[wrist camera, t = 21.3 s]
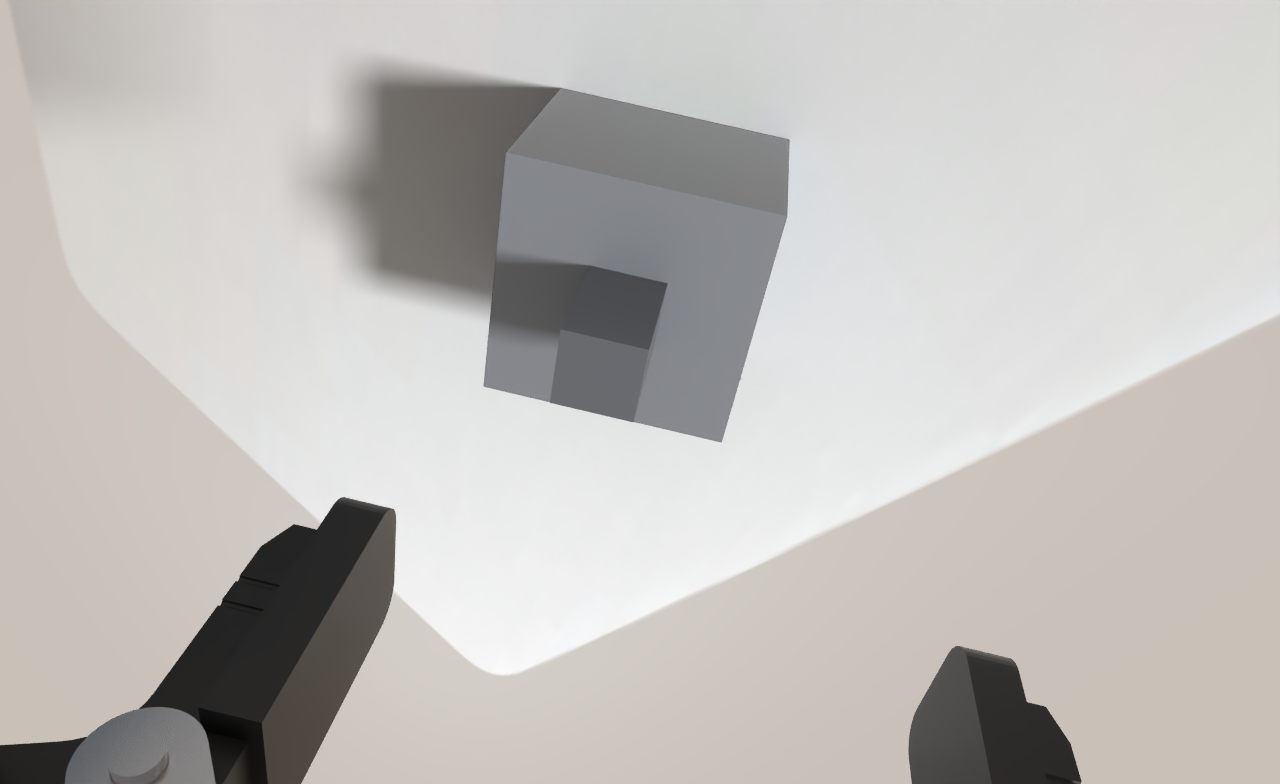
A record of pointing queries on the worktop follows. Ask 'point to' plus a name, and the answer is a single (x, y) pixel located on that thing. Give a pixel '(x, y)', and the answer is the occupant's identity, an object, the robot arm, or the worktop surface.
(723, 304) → the gray block with peg
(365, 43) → the worktop surface
